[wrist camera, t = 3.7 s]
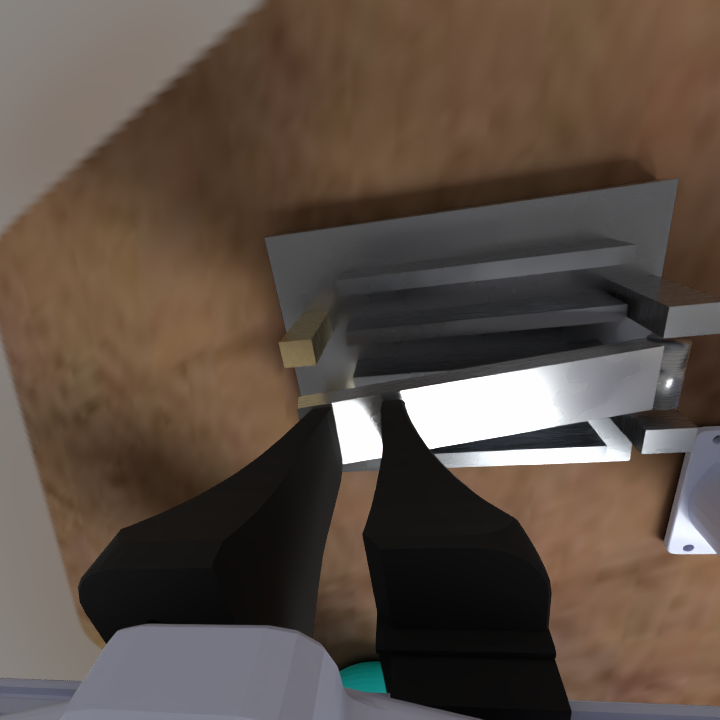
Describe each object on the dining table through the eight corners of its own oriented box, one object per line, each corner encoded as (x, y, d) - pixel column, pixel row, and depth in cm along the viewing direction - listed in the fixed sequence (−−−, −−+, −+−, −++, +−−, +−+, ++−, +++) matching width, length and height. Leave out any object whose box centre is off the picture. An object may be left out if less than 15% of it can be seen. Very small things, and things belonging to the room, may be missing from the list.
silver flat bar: (670, 330, 13) (702, 342, 12) (659, 391, 14) (687, 406, 13) (298, 393, 13) (296, 412, 12) (312, 451, 14) (311, 473, 13)
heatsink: (657, 179, 14) (771, 175, 10) (616, 444, 19) (680, 522, 14) (274, 234, 16) (226, 251, 12) (323, 458, 21) (301, 528, 17)
